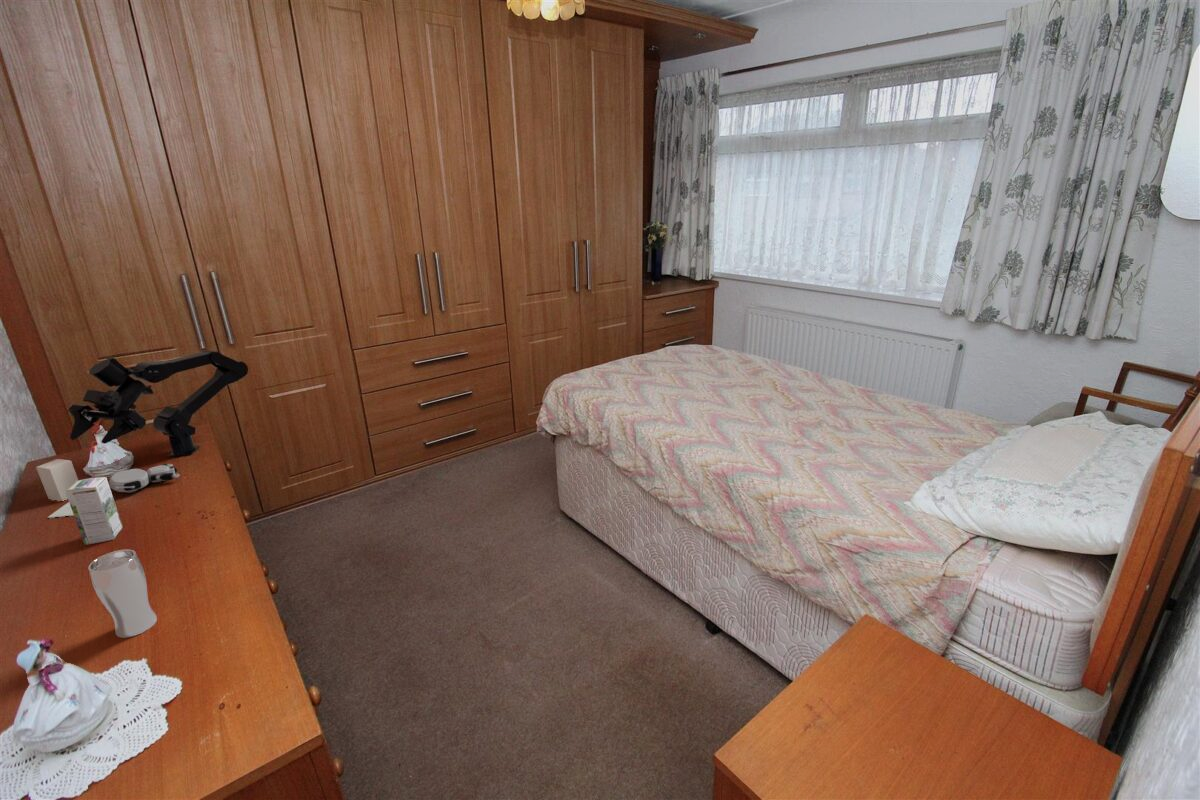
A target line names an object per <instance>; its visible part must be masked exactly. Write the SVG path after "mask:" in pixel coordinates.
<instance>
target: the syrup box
mask: <svg viewBox="0 0 1200 800" xmlns="http://www.w3.org/2000/svg"><path fill="white" fill-rule="evenodd" d="M78 480H79V479H78ZM112 493H113V492H112V490H111V487H110V483H109V481H108V479H107V477H106V476H105V477H104V476H102V477H90V478H83V479H80V480H79V481H77V482H76V483H75V484H74V485H73V486H71V487H70V488H69V489H68V490H67V491H66V495H67V497H68V500H67V501H68V502H69V503H70V506H71V509H72V511H73V514H74V516H73V517H74V519H75V522H76V525H77V528H78V531H79V534H80V537H81V539H82V542H83V544H84V545H86V546H87V545H93V544H99V543H103V542H108V541H113V540H115V539H116V537H118V534H119V533H120V532H121V531H122V530H123V528H124V526H123V523H122V520H121V518H120V514H119V511H118V508H117V505H116V504H117V503H116V502H115V499H114V496H113V494H112Z"/></svg>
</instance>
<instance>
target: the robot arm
mask: <svg viewBox="0 0 1200 800" xmlns="http://www.w3.org/2000/svg"><path fill="white" fill-rule="evenodd" d="M208 365H211V366H213V367H214V368H216V369H215V372H214V375H213V376H212V377H211V378H210V379H209V380H207V381H206V382H204V384H203V385H202V386H200V387H199V388H197V390H195V391H194V392H193V393H192V394H190V395H189V396H188V397H187V398H186V399H184V401H182V402H181V403H180V404H178V405H176V406H174V407H172V406H170V405H166V406H165V407H164V408H163V409H162V410H161V411H160V412H159V413H156V414H155V417H154V419H153V428H154V429H155V430H156V431H158V432H160V433H161V434H163V435H164V436H168V440H169V444H170V448H171V450H172V452H170V453H169V454H168V457H169V456H171V457H177V456H176V455H183V456H190V454H191V455H192V453H193V452H194V453H195V452H196V451H197V450H199V449H200V448H201V445H195V443H194V441H193V440H194V439H193V436H194V435H195V434H196V427H194V426H193V425H190V422H191V419H192V417H193V416H194V414H195V413H196V412H198V411H199V410H200V409H201V408H203V407H204V405H206V404H207V403H208V402H210V400H212V399H213V398H214V397H215V396H216V395H217V394H219V393H220V392H221V391H222V390H224V388H225V387H227V386H228V385H231V384H233V383H236V382H239V381H240V380H242V379H243V378H245V377H246V376H247V375H248V373H249V366H248V364H247V363H245V362H244V361H240V360H235V359H234V358H231V357H229V356H227V355H224V354H222V353H221V352H219V351H216V350H211V349H207V350H205V351H202V352H198V353H193V354H188V355H186V356H182V357H181V356H180V357H178V358H173V359H170V360H169V359H168V360H153V361H152V360H151V361H142V362H139V363H137V364H135V366H130V367H129V366H128V367H126V366H125V365H123V364H122V363H120V362H119V361H118V360H117V359H116V358H114V357H110V356H109V357H107V358H106V359H105V360H102V361H100V362H98V363H95V364H94V365H93V366H92V367H91V368H89V372H88V373H89V374H90V375H91V376H92V377H93V378H95V379H97V380H98V381H100V382H101V383H102V384H104V385H105V386H107V387H109V388H111V387H116V389H114V390H110V389H109V390H107V391H101V390H93V389H92V390H91V389H87V390H86V392H85V394H84V396H83V399H82V401H83V402H85V403H86V402H88V403H91V404H92V406H93V407H94V408H95V409H97V410H95V409H94V408H93V407H91V406H90V405H88V404H80V403H76V404H72V405H71V406H70V407H69V408H68V409H67V411H68V413H70V415H71V416H72V417H73V418H74V423H73V426H72V430H71V433H70V436H69V439H70V440H72V441H75V440H76V439H78V438H80V436H82V435H83V434H85V433H86V432H87V431H90V430H91V428H93V427H94V426H95V423H98V421H99V420H100V419H102V420H110V421H113V424H112V426H111V427H110V428H109V429H108V431H107V432H106V433H105V435H104V436H103V438H102V440H101V443H102V444H104V445H106V444H108V443H110V442H112V441H113V440H117V438H120V437H122V436H124V435H127V434H129V433H131V432H136V431H138V430H142V429H143V428H145V426H146V424H147V421H146V419H145V417H143V415H141V414H140V413H139V411H137V410H136V408H137V405H136V402H137V401H138V400H139V399H140V397H141V396H142V395H144V396H146V395H154V391H153V389H152V385H150V384H149V385H146V384H145V383H143V382H147V383H151V384H157V383H160V382H163V381H165V380H166V379H167V380H168V379H169V378H171V377H172V376H173V375H174V374H177V373H180V372H184V371H188V370H192V369H196V368H199V367H204V366H208ZM135 378H136V379H135ZM93 404H94V405H93ZM194 453H193V454H194ZM174 455H175V456H174Z"/></svg>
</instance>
